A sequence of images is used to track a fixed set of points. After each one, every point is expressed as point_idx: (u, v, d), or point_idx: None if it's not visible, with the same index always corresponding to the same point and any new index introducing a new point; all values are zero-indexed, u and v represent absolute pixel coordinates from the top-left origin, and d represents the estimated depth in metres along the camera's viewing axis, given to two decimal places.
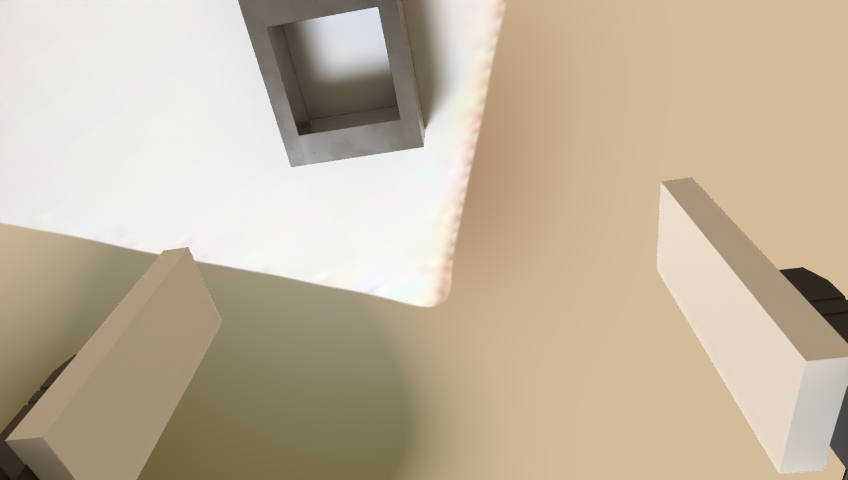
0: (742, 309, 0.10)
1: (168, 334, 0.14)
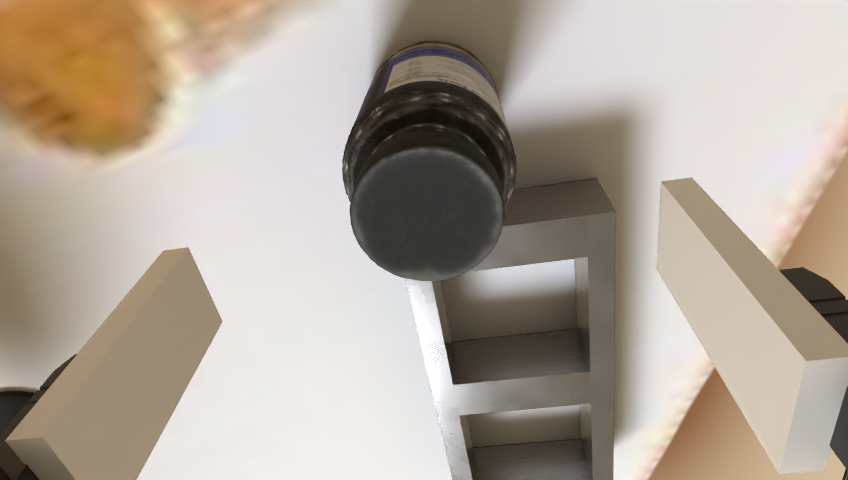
0: (742, 309, 0.10)
1: (168, 334, 0.14)
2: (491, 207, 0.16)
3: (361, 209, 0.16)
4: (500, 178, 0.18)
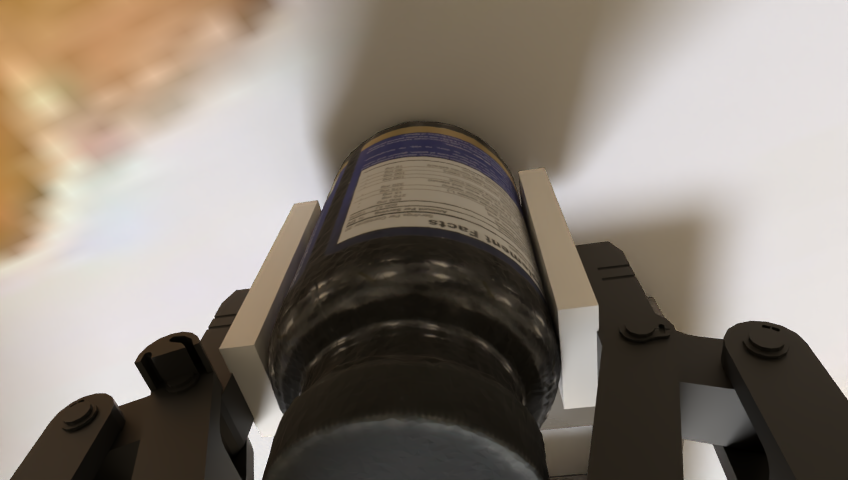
0: (543, 274, 0.12)
1: None
2: None
3: None
4: (536, 397, 0.10)
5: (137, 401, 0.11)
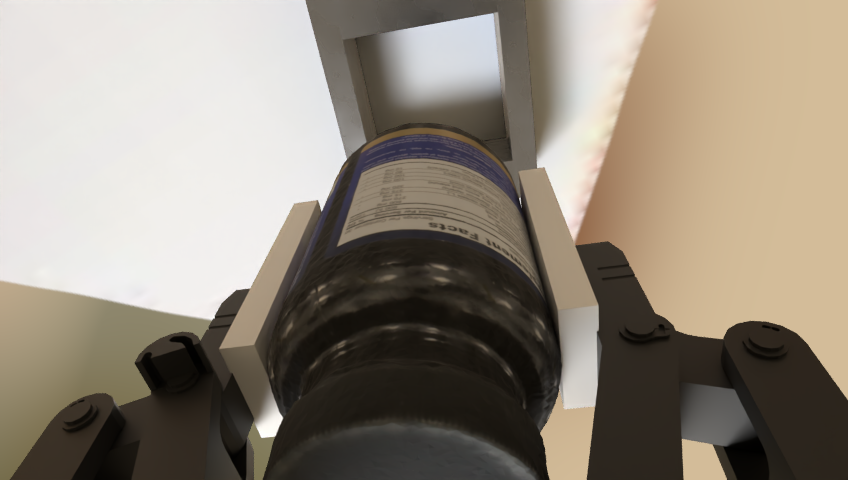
0: (543, 274, 0.12)
1: None
2: None
3: None
4: (537, 400, 0.10)
5: (137, 401, 0.11)
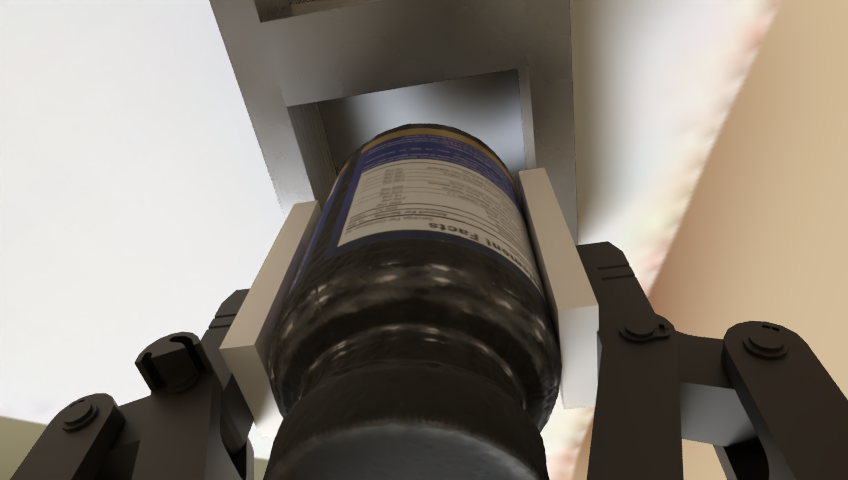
0: (543, 274, 0.12)
1: None
2: None
3: None
4: (537, 400, 0.10)
5: (137, 401, 0.11)
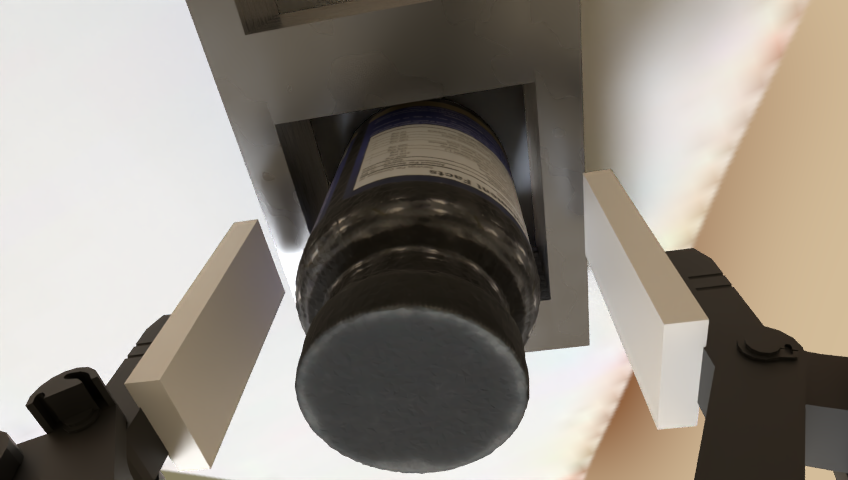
0: (630, 284, 0.11)
1: (246, 298, 0.15)
2: (509, 385, 0.11)
3: (312, 386, 0.11)
4: (519, 315, 0.13)
5: (40, 438, 0.11)
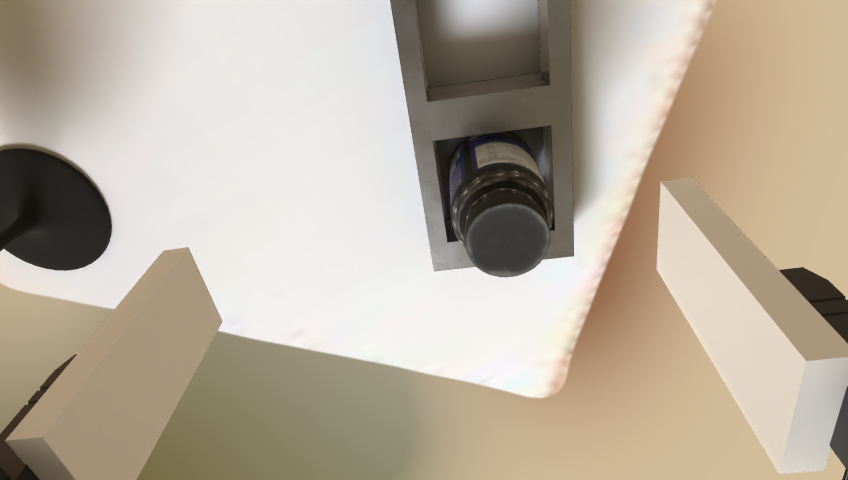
0: (742, 309, 0.10)
1: (168, 334, 0.14)
2: (543, 236, 0.30)
3: (472, 235, 0.30)
4: (545, 219, 0.32)
5: None
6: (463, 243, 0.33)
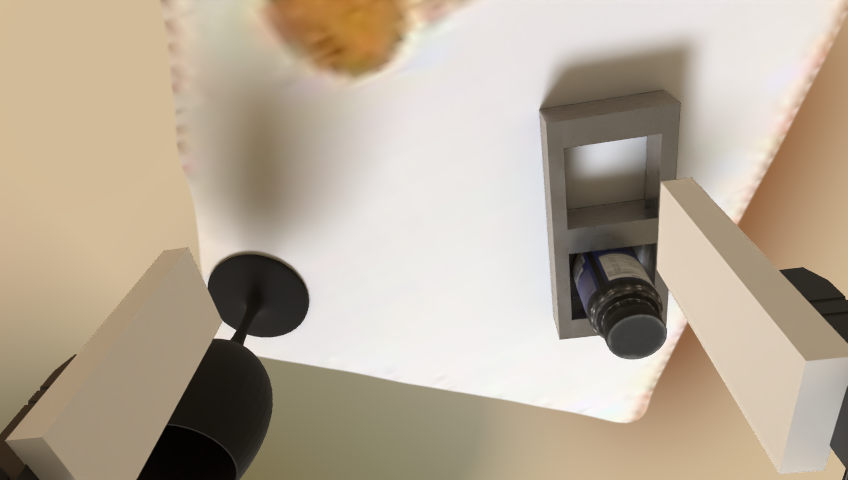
0: (742, 309, 0.10)
1: (168, 334, 0.14)
2: (662, 333, 0.43)
3: (612, 334, 0.43)
4: None
5: None
6: (597, 331, 0.46)
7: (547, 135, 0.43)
